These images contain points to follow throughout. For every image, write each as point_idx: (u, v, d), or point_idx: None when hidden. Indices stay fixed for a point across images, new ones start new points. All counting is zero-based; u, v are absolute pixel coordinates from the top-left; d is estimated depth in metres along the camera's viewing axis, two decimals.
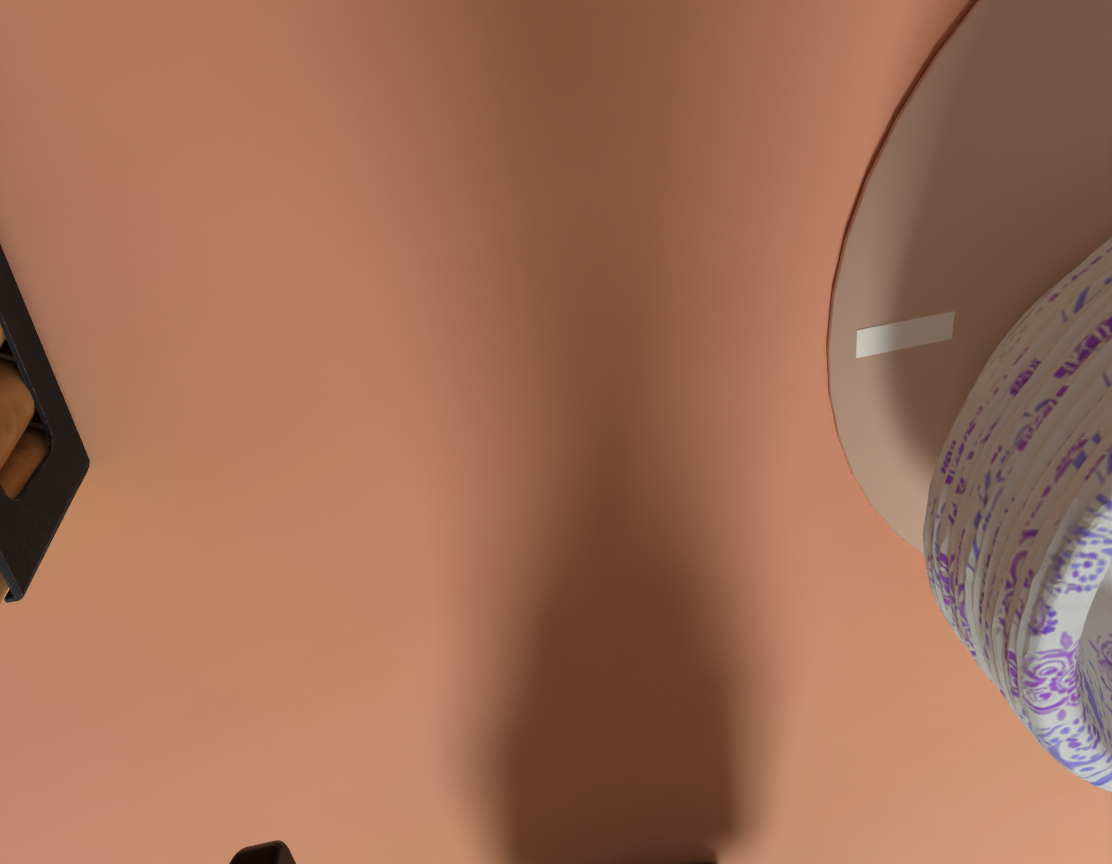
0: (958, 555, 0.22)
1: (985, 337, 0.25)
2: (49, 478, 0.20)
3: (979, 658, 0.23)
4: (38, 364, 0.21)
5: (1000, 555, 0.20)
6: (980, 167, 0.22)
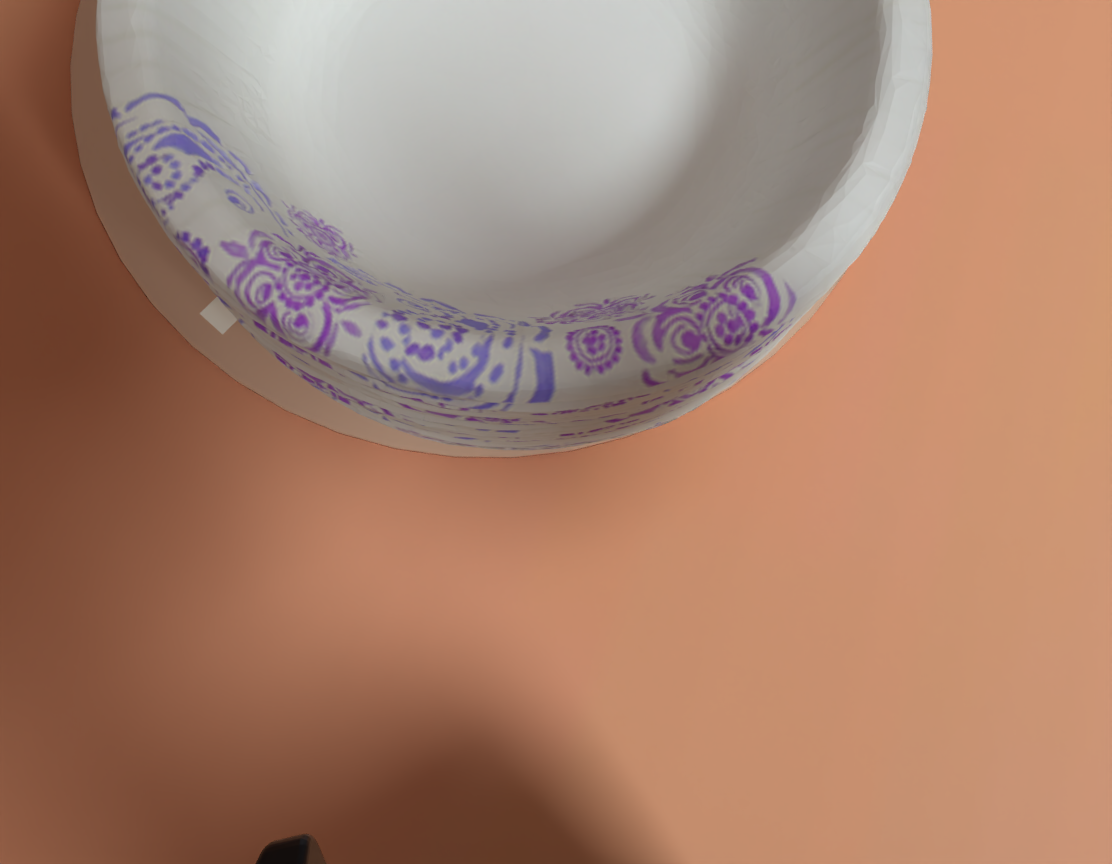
0: None
1: None
2: None
3: (379, 405, 0.17)
4: None
5: None
6: None
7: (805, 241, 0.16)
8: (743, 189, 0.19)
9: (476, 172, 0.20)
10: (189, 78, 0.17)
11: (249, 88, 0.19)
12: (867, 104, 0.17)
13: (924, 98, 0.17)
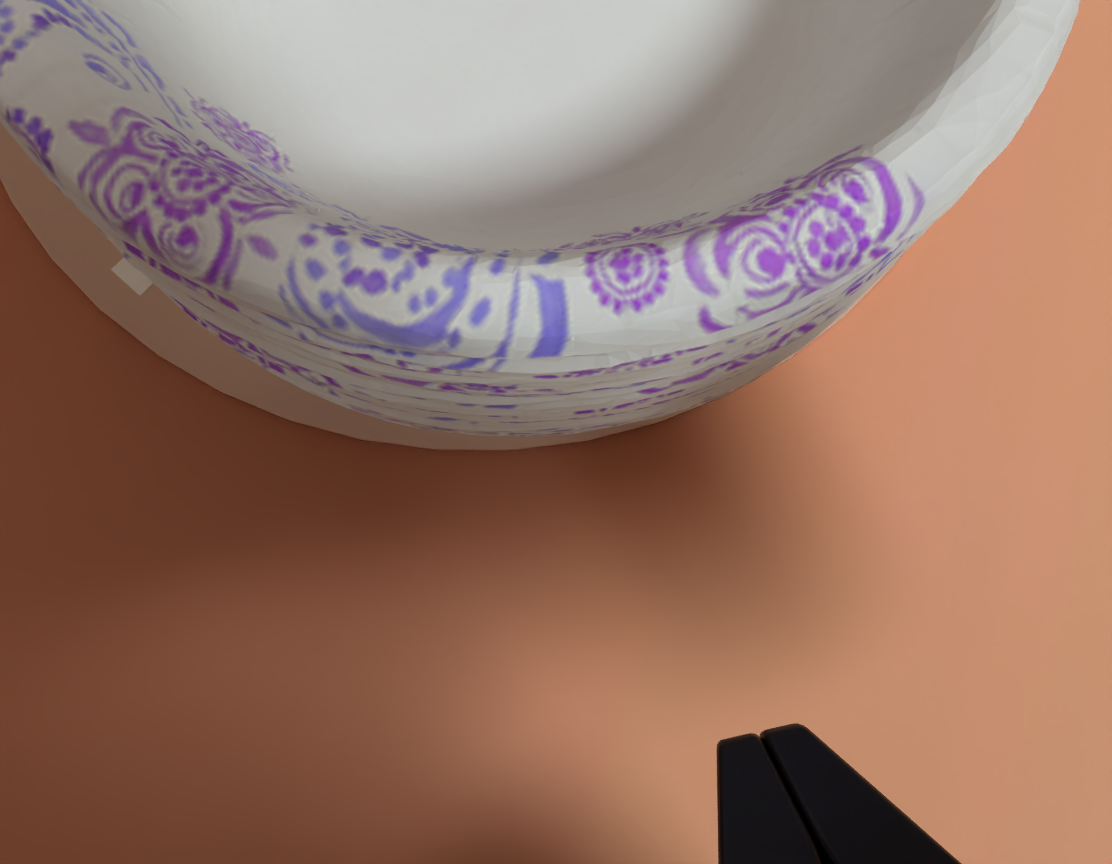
0: None
1: None
2: None
3: (318, 370, 0.12)
4: None
5: None
6: None
7: (936, 119, 0.11)
8: (820, 78, 0.14)
9: (458, 63, 0.15)
10: None
11: None
12: None
13: None
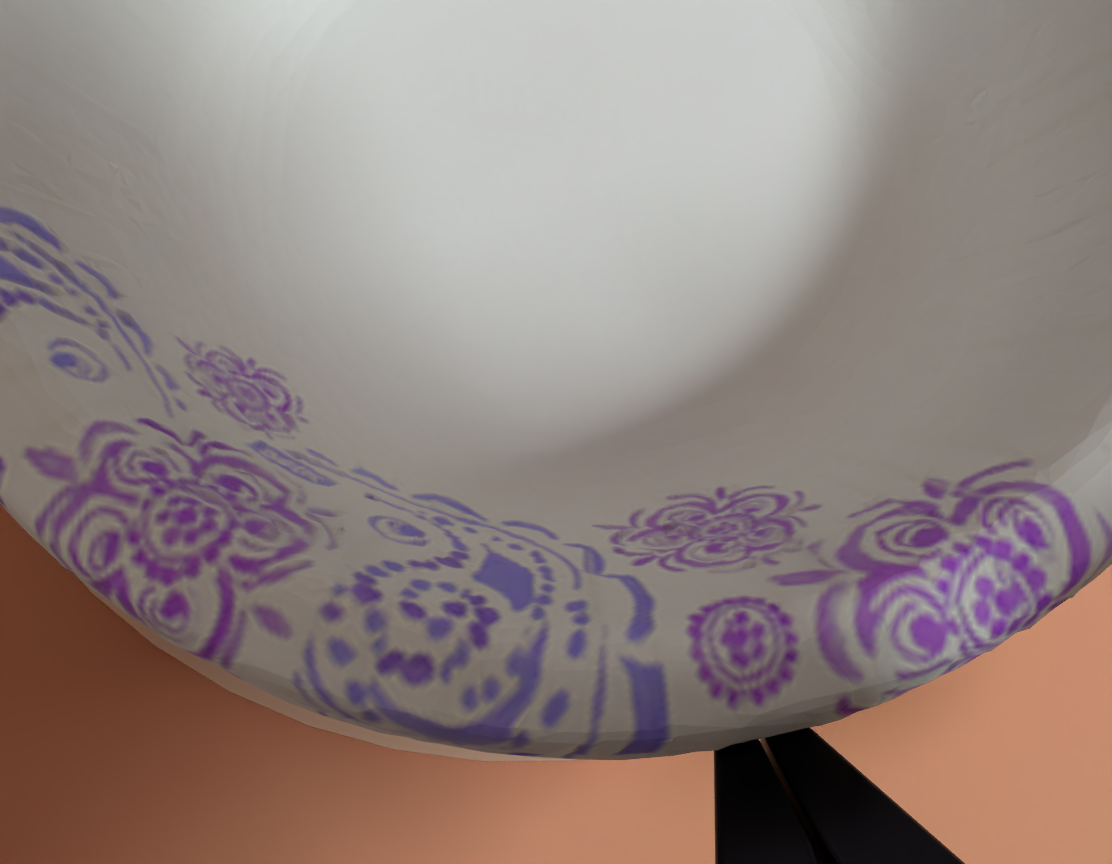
0: None
1: None
2: None
3: None
4: None
5: None
6: None
7: None
8: (934, 301, 0.12)
9: (502, 275, 0.12)
10: (4, 137, 0.10)
11: (133, 149, 0.12)
12: None
13: None
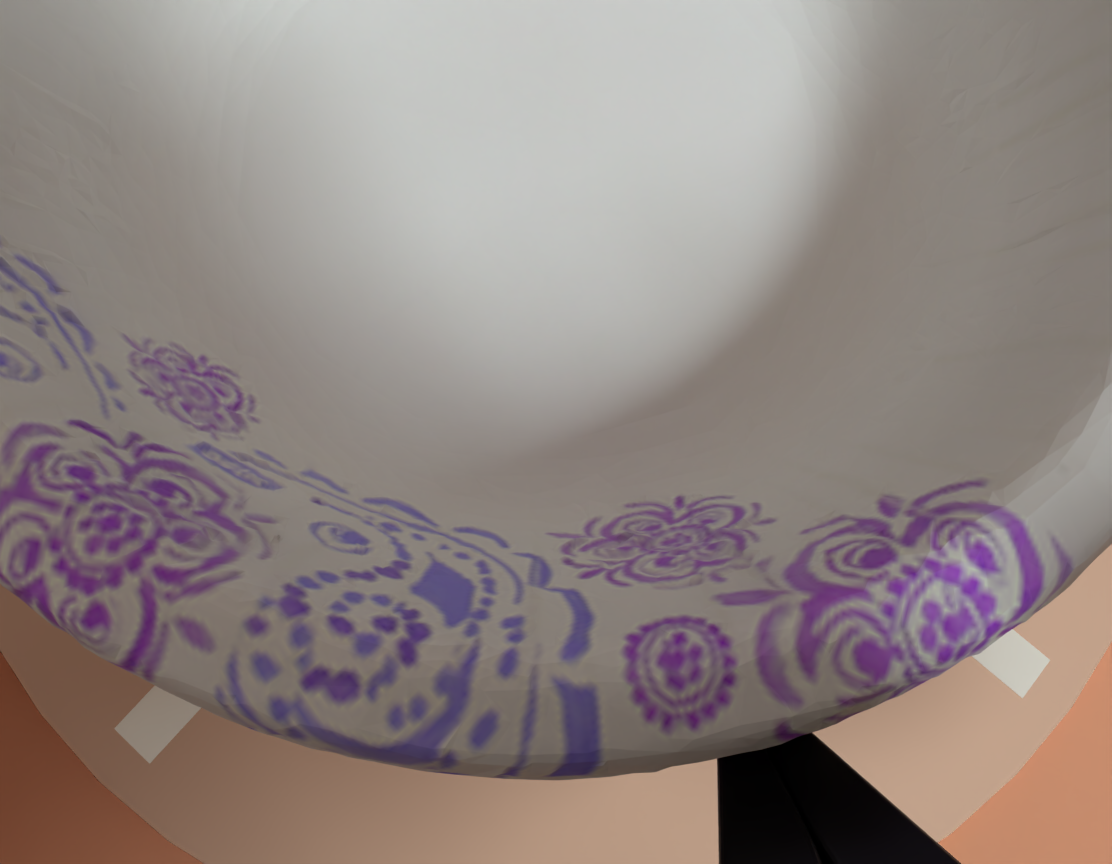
0: None
1: None
2: None
3: None
4: None
5: None
6: None
7: (1087, 454, 0.08)
8: (905, 308, 0.12)
9: (465, 274, 0.12)
10: None
11: (85, 138, 0.11)
12: None
13: None
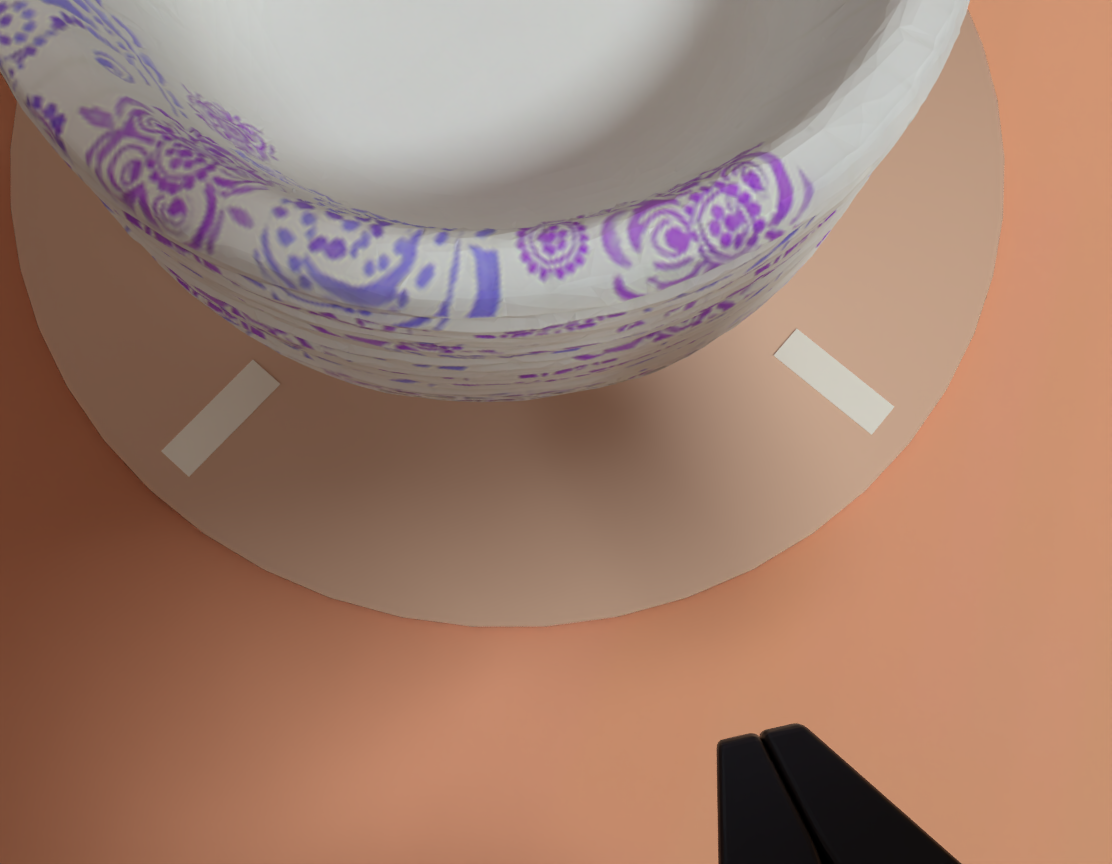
0: (144, 246, 0.15)
1: None
2: None
3: (292, 332, 0.14)
4: None
5: None
6: None
7: (827, 120, 0.13)
8: (749, 87, 0.16)
9: (429, 68, 0.17)
10: None
11: None
12: None
13: None
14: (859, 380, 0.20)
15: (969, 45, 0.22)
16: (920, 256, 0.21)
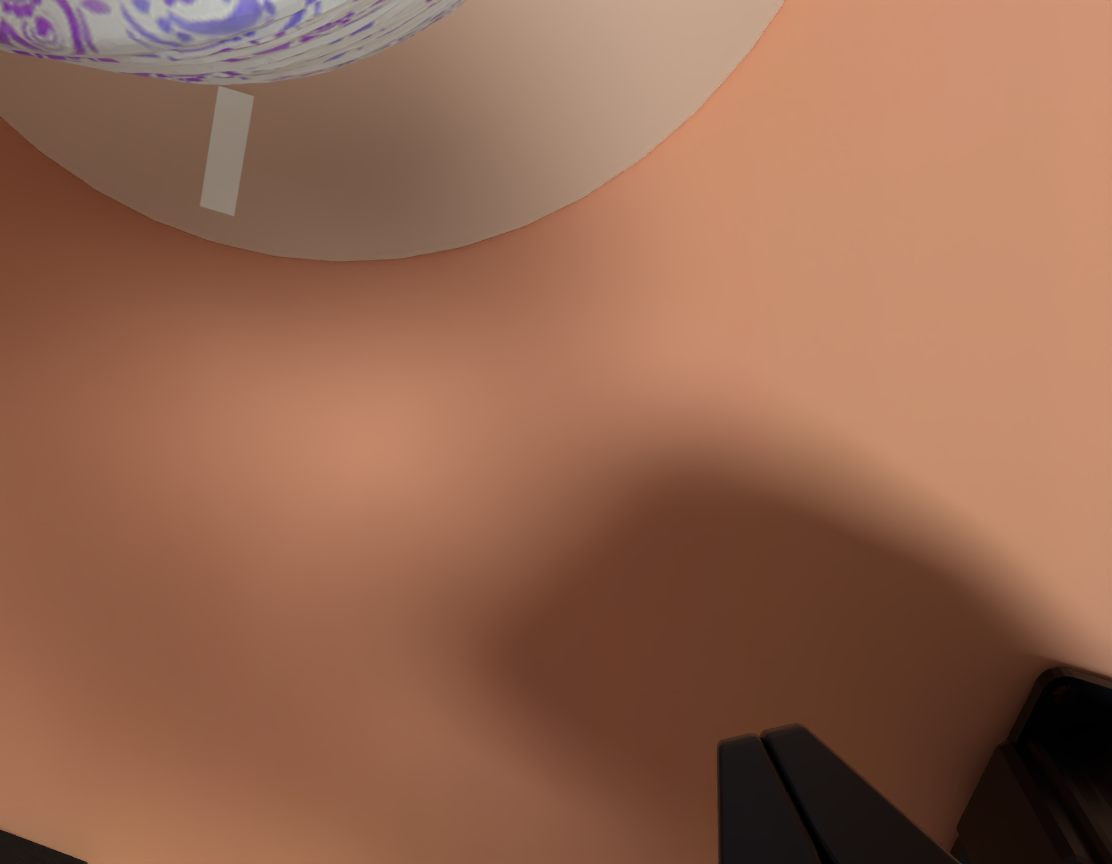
0: None
1: None
2: None
3: (214, 71, 0.15)
4: None
5: None
6: None
7: None
8: None
9: None
10: None
11: None
12: None
13: None
14: None
15: None
16: None
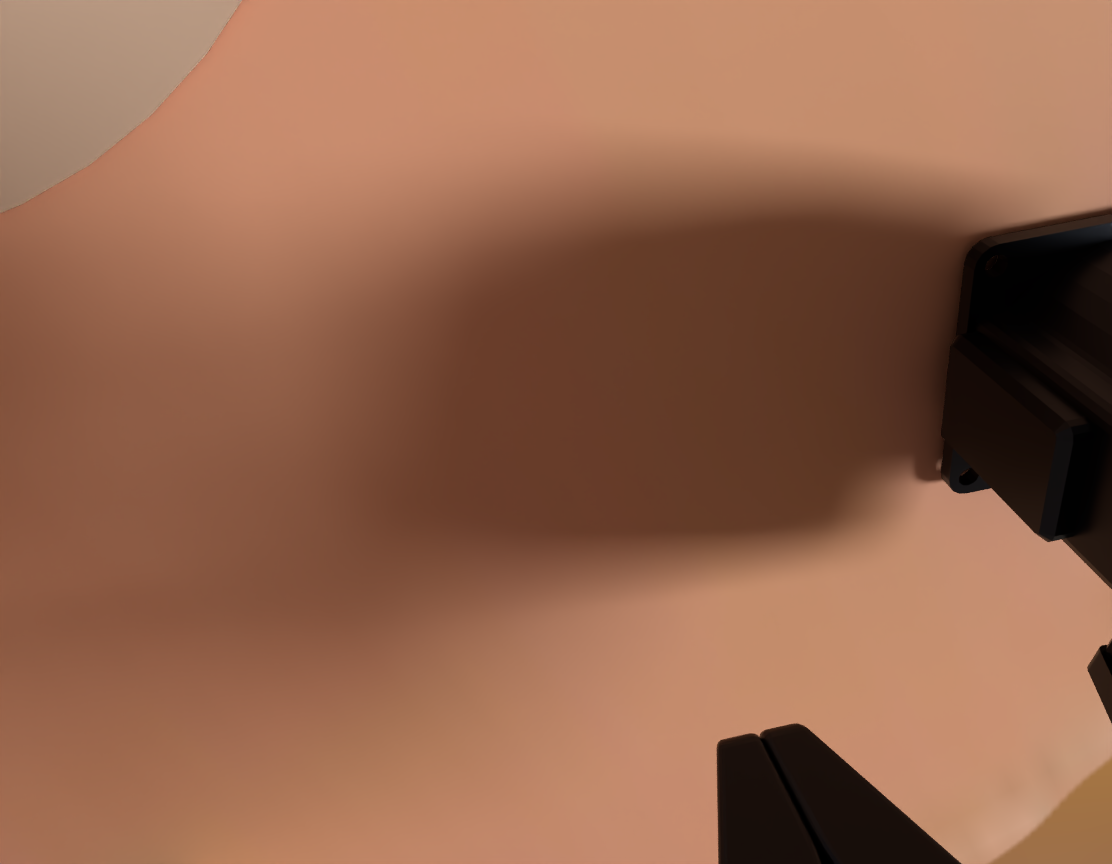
0: None
1: None
2: None
3: None
4: None
5: None
6: None
7: None
8: None
9: None
10: None
11: None
12: None
13: None
14: None
15: None
16: None
